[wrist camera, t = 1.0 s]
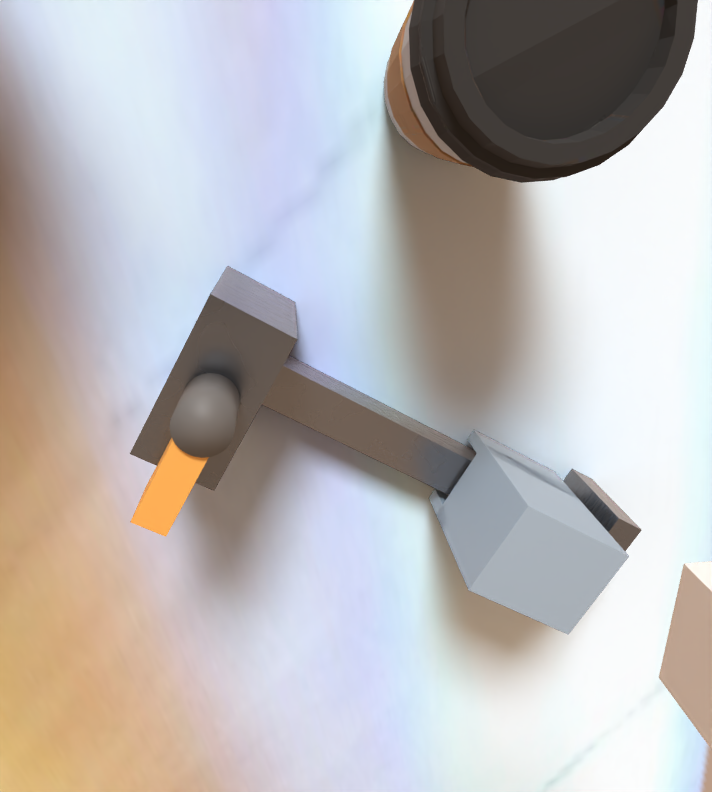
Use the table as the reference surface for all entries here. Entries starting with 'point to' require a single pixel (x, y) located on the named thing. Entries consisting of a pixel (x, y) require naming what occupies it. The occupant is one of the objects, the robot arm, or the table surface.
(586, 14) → the coffee cup
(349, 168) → the table surface
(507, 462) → the block
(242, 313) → the end cabinet
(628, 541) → the square post base
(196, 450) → the lever
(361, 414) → the rail
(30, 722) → the table surface
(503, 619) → the table surface
